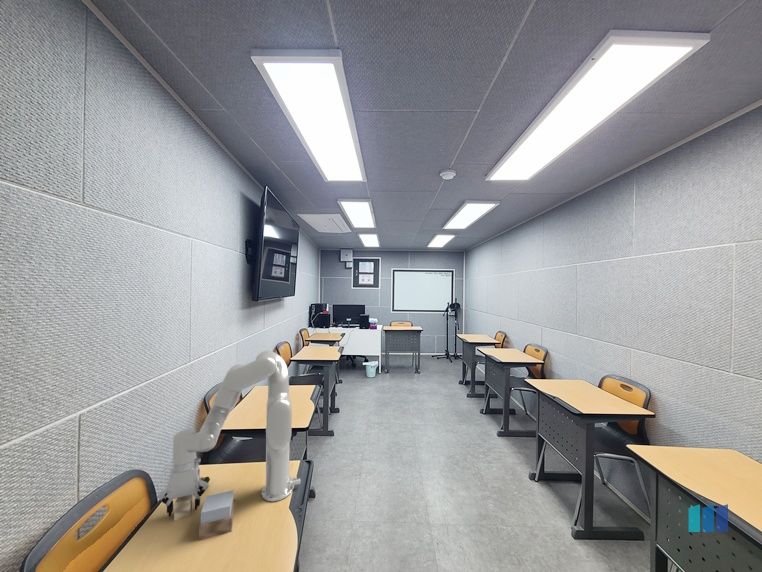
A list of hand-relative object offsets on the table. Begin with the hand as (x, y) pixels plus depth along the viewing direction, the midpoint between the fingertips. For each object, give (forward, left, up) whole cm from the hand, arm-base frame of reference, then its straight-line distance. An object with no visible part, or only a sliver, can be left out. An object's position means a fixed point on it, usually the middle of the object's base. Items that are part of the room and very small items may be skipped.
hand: (183, 510), depth 111 cm
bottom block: (-13, +11, -2) cm, 17 cm away
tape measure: (-3, -14, -2) cm, 15 cm away
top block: (-13, +11, +3) cm, 17 cm away
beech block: (0, 0, -1) cm, 1 cm away
